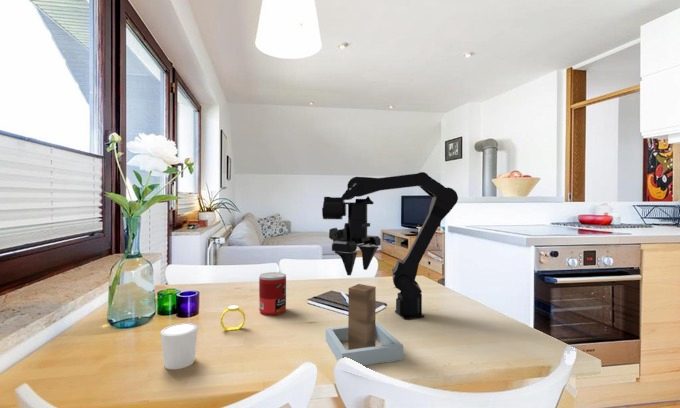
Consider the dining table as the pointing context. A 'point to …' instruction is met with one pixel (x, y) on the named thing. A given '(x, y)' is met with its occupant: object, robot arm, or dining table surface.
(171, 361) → the white cup
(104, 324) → the dining table surface
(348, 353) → the frame
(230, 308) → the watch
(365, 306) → the tall wooden post
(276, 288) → the canned food
